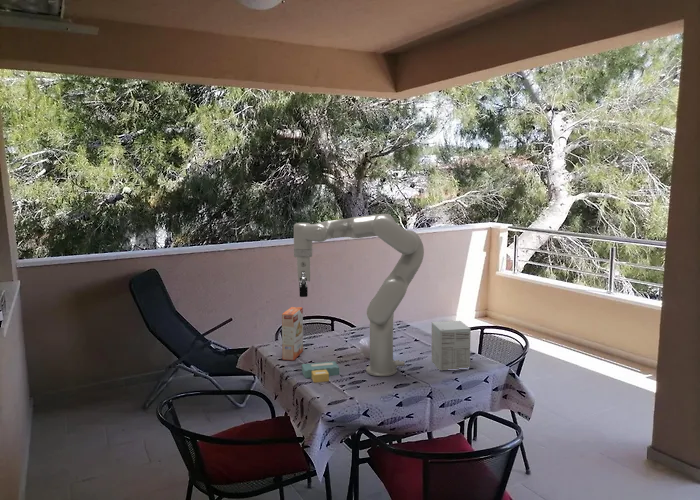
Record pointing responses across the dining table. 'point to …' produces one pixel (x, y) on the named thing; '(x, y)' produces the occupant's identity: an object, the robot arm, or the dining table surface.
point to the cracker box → (292, 333)
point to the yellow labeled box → (320, 376)
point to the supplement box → (450, 345)
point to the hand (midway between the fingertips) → (303, 294)
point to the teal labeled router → (320, 368)
